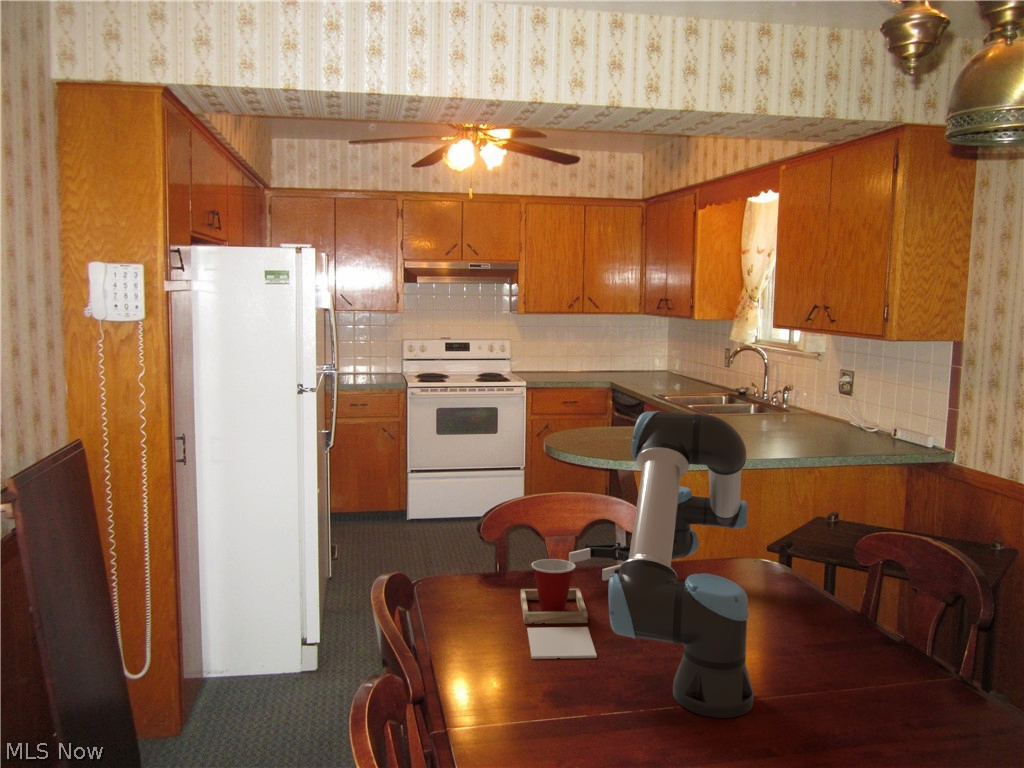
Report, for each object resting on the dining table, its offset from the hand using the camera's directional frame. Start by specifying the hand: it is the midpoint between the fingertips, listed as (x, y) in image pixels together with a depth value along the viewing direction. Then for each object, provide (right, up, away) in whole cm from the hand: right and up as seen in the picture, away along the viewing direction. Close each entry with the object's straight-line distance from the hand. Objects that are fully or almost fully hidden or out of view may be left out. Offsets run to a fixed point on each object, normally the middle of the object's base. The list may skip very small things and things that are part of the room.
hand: (585, 566), depth 196 cm
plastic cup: (-9, -10, -4) cm, 14 cm away
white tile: (-8, -12, -22) cm, 26 cm away
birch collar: (-9, -10, -4) cm, 14 cm away
